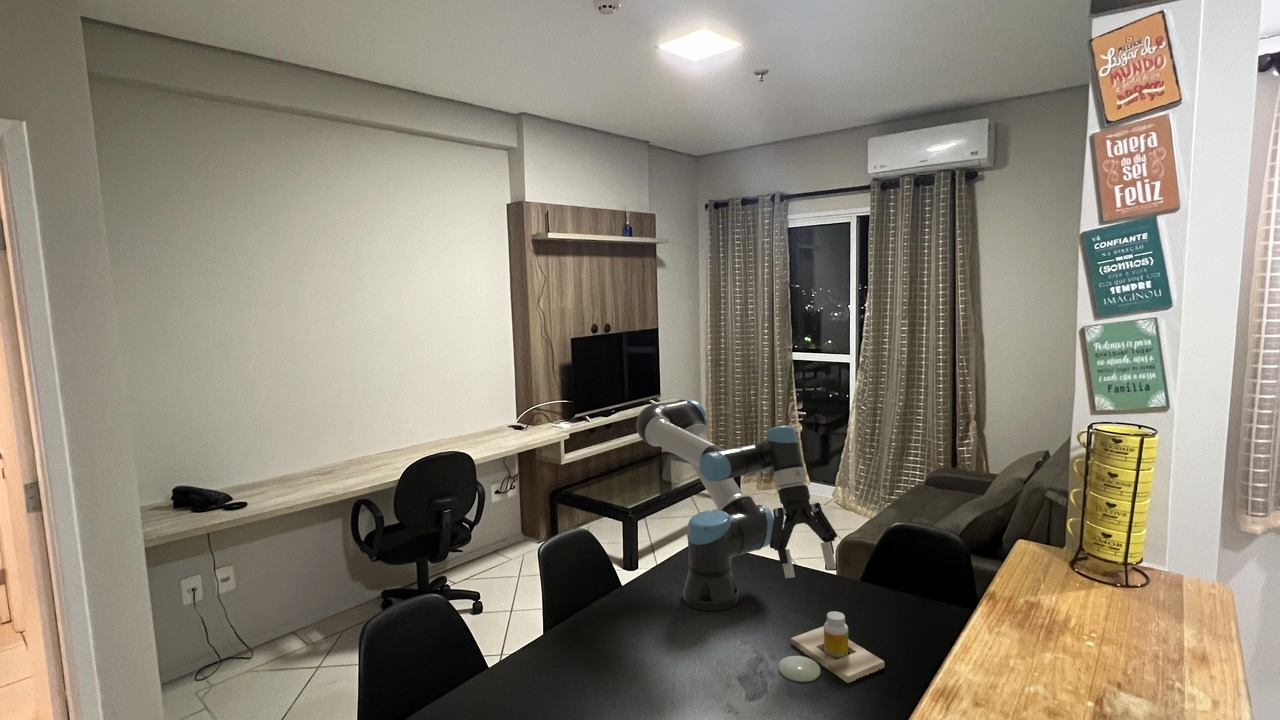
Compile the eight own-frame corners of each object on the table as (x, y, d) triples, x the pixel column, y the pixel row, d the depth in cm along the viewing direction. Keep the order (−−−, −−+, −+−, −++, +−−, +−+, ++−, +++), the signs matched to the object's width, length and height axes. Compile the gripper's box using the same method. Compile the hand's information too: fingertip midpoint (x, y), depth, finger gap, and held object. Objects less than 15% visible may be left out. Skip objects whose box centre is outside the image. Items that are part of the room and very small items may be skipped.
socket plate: (791, 643, 153) (791, 637, 153) (825, 631, 158) (825, 625, 158) (847, 683, 137) (847, 676, 137) (884, 667, 142) (884, 661, 142)
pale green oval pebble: (770, 665, 145) (770, 663, 144) (800, 654, 149) (800, 651, 149) (797, 686, 137) (797, 684, 137) (829, 673, 141) (829, 671, 141)
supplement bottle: (849, 663, 145) (849, 622, 144) (824, 661, 146) (824, 620, 145) (846, 649, 150) (846, 610, 149) (823, 648, 151) (822, 608, 150)
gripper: (763, 488, 154) (782, 580, 148) (838, 480, 166) (858, 564, 160) (744, 493, 160) (762, 581, 154) (818, 484, 173) (837, 566, 166)
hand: (811, 573), depth 157 cm, fingers open, 13 cm apart
